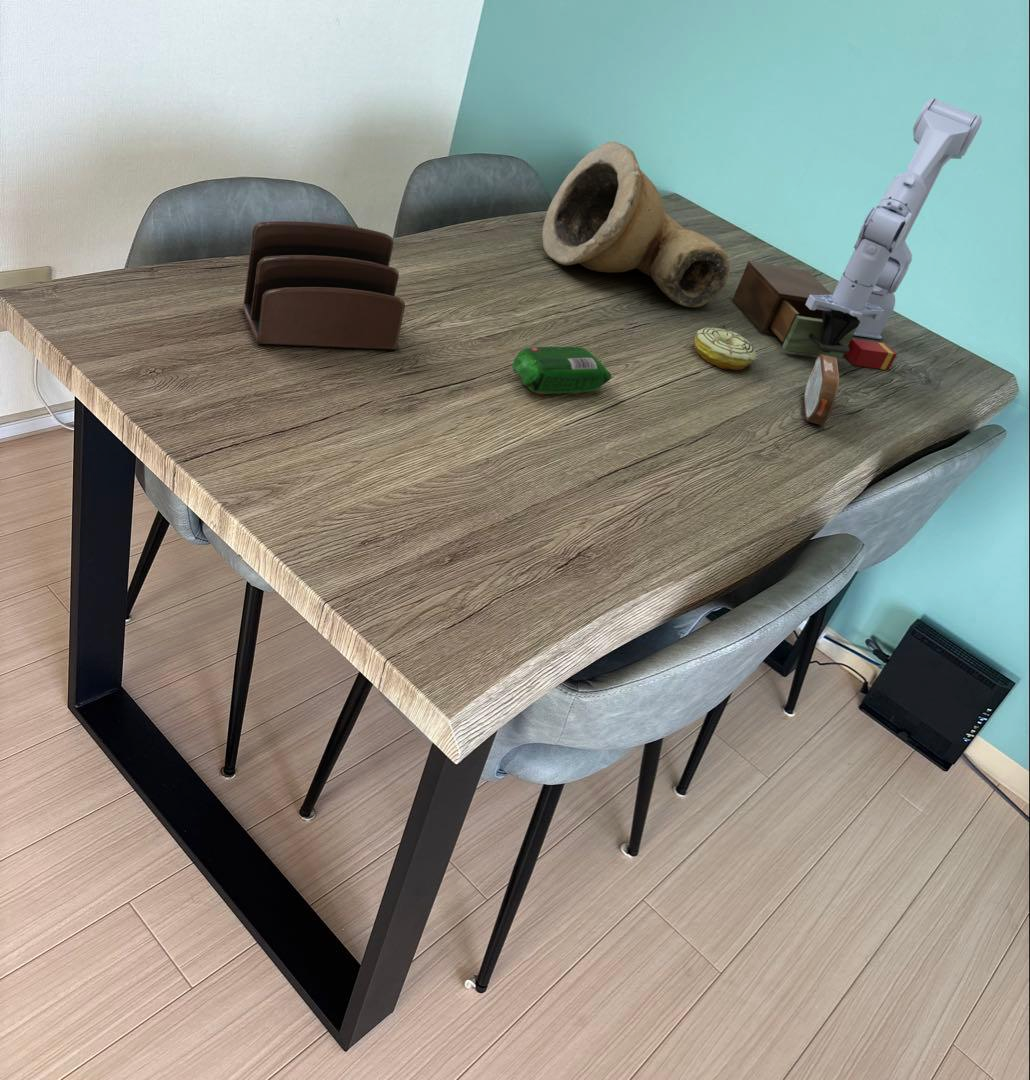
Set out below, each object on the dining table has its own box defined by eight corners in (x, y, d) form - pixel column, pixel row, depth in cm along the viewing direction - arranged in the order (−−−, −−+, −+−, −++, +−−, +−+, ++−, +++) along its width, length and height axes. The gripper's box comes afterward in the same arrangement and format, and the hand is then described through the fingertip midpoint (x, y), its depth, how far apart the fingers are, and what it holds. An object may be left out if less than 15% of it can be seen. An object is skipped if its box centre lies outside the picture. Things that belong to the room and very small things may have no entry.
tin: (821, 435, 160) (845, 389, 155) (802, 428, 160) (825, 382, 156) (817, 394, 173) (839, 350, 168) (799, 388, 173) (820, 344, 168)
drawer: (854, 371, 183) (870, 340, 179) (796, 363, 178) (812, 331, 175) (810, 325, 196) (824, 295, 192) (755, 317, 191) (769, 286, 188)
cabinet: (822, 342, 193) (841, 303, 188) (761, 333, 188) (779, 293, 183) (791, 308, 203) (808, 271, 198) (732, 299, 198) (748, 260, 193)
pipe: (697, 353, 195) (596, 303, 175) (615, 282, 213) (515, 229, 192) (773, 247, 187) (676, 182, 166) (681, 182, 205) (583, 116, 184)
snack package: (613, 397, 152) (624, 367, 149) (523, 399, 144) (533, 367, 141) (589, 373, 156) (599, 342, 153) (501, 373, 148) (510, 341, 145)
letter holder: (241, 309, 143) (252, 213, 135) (377, 317, 152) (395, 227, 144) (256, 345, 136) (268, 246, 128) (396, 351, 145) (417, 259, 137)
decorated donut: (762, 369, 175) (771, 349, 173) (724, 377, 168) (733, 357, 166) (717, 339, 180) (725, 320, 178) (679, 346, 173) (687, 326, 171)
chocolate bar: (877, 359, 193) (886, 343, 191) (888, 370, 190) (897, 354, 188) (843, 354, 190) (851, 338, 188) (853, 365, 188) (862, 349, 186)
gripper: (834, 283, 168) (800, 356, 176) (905, 295, 173) (868, 365, 181) (815, 265, 173) (782, 336, 181) (884, 277, 178) (849, 346, 186)
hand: (824, 349), depth 181 cm, fingers closed, pressing on drawer
